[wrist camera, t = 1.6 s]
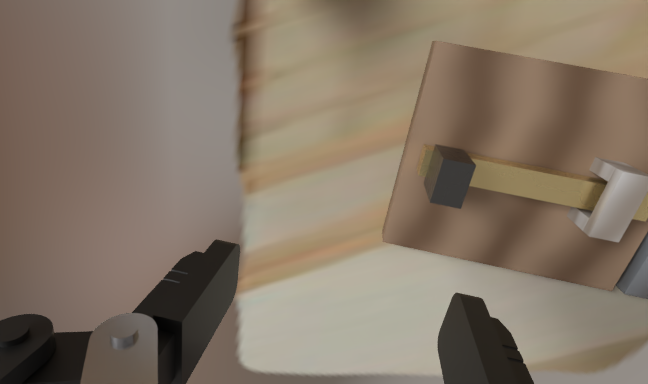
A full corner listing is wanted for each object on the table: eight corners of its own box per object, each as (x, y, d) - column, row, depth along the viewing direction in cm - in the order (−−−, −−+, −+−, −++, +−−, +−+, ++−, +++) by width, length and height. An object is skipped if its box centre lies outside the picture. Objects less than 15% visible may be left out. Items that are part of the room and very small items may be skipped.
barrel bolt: (414, 175, 28) (422, 201, 23) (425, 137, 27) (435, 157, 22) (628, 218, 27) (679, 254, 22) (649, 181, 26) (708, 211, 21)
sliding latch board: (382, 230, 33) (383, 262, 28) (432, 41, 26) (444, 40, 22) (681, 294, 31) (736, 340, 26) (812, 109, 25) (916, 124, 20)
